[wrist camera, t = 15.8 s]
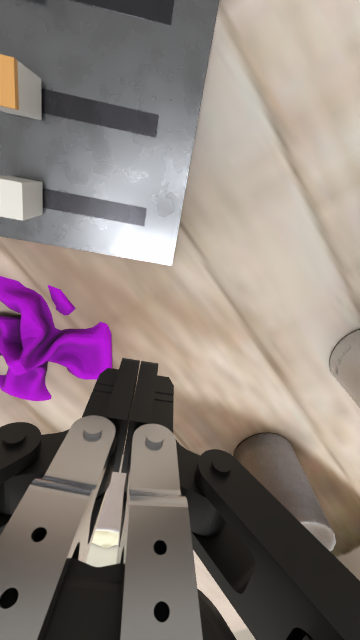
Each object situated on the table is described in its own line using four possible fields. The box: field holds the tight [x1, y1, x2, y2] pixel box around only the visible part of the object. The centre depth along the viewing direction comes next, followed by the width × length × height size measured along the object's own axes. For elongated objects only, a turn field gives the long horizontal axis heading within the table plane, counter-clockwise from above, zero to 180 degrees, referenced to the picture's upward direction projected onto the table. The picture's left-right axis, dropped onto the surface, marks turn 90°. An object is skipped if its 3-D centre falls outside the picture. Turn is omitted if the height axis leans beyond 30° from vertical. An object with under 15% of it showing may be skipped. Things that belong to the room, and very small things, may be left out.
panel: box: [0, 0, 219, 266], centre depth 28 cm, size 20×25×2 cm
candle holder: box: [86, 454, 126, 567], centre depth 44 cm, size 10×10×12 cm
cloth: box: [0, 276, 112, 401], centre depth 36 cm, size 22×19×6 cm
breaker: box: [0, 175, 43, 221], centre depth 27 cm, size 3×3×4 cm
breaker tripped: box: [0, 54, 42, 120], centre depth 24 cm, size 3×3×5 cm
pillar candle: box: [233, 433, 336, 551], centre depth 42 cm, size 10×10×15 cm
